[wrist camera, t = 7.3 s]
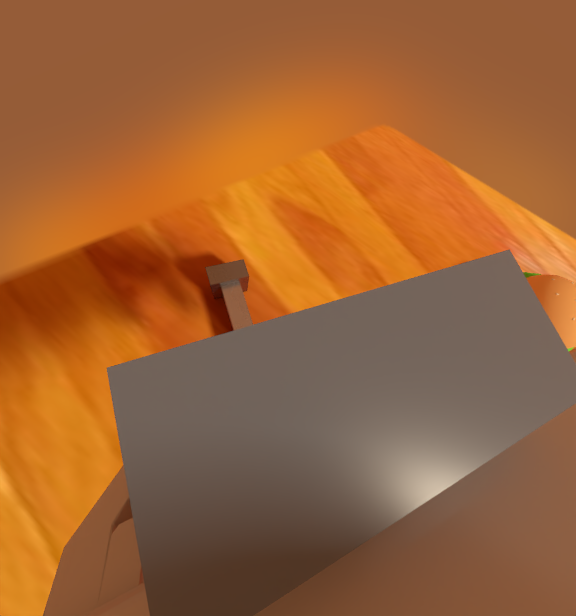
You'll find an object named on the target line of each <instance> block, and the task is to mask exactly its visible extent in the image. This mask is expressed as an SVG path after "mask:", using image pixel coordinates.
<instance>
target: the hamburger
mask: <svg viewBox="0 0 576 616" xmlns="http://www.w3.org/2000/svg"><path fill="white" fill-rule="evenodd" d="M523 274H524V276H525V277H526V279H527V281H528V282H529V284H530V286H531V288H532V289H533V291H534V293H535V294H536V296H537V298H538V300H539V301H540V303H541V305H542V306H543V308H544V310H545V312H546V313H547V315H548V317H549V318H550V320H551V322H552V324H553V325H554V327H555V329H556V330H557V332H558V334H559V336H560V337H561V339H562V341H563V343H564V344H565V346H566V348H567V349H568V351H570V350H571V349H573V348H574V347H576V283H575V282H572V281H570V280H568V279H565V278H563V277H560V276H556V275H542V274H534V273H527V272H524V273H523Z"/></svg>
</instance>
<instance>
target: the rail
mask: <svg viewBox="0 0 576 616" xmlns="http://www.w3.org/2000/svg"><path fill="white" fill-rule="evenodd" d="M205 268H206V271H207V275H208V278H209V282H210V286H211V289H212V292H213V296H214V299H216V298H220V297H223V299H224V303H225V306H226V309H227V313H228V316H229V320H230V323H231V326H232V330H233V331H234V330H237V329H241V328H244V327H248V326H251V325H253V323H252V320H251V317H250V314H249V311H248V307H247V304H246V301H245V298H244V295H243V292H244V291H247V288H248V280H249V275H248V272H247V269H246V265H245V262H244V259H243V260H238V261H233V262H229V263H224V264H219V265H214V266H210V267H205Z"/></svg>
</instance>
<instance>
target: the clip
mask: <svg viewBox="0 0 576 616" xmlns="http://www.w3.org/2000/svg"><path fill="white" fill-rule="evenodd" d="M107 372H108V378H109V384H110V390H111V395H112V401H113V407H114V413H115V418H116V424H117V430H118V436H119V441H120V447H121V453H122V458H123V464H124V470H125V476H126V481H127V487H128V493H129V499H130V504H131V510H132V516H133V522H134V527H135V533H136V539H137V545H138V550H139V556H140V562H141V567H142V573H143V579H144V585H145V590H146V596H147V602H148V608H149V613H150V616H254V615H255V614H257V613H259V612H260V611H262V610H263V609H265V608H266V607H268V606H269V605H271V604H272V603H274V602H275V601H277V600H278V599H280V598H281V597H283V596H284V595H286V594H287V593H289V592H290V591H292V590H293V589H295V588H296V587H298V586H300V585H301V584H303V583H304V582H306V581H307V580H309V579H310V578H312V577H313V576H315V575H316V574H318V573H319V572H321V571H322V570H324V569H325V568H327V567H328V566H330V565H331V564H333V563H334V562H336V561H337V560H339V559H340V558H342V557H344V556H345V555H347V554H348V553H350V552H351V551H353V550H354V549H356V548H357V547H359V546H360V545H362V544H363V543H365V542H366V541H368V540H369V539H371V538H372V537H374V536H375V535H377V534H378V533H380V532H381V531H383V530H384V529H386V528H388V527H389V526H391V525H392V524H394V523H395V522H397V521H398V520H400V519H401V518H403V517H404V516H406V515H407V514H409V513H410V512H412V511H413V510H415V509H416V508H418V507H419V506H421V505H422V504H424V503H425V502H427V501H428V500H430V499H432V498H433V497H435V496H436V495H438V494H439V493H441V492H442V491H444V490H445V489H447V488H448V487H450V486H451V485H453V484H454V483H456V482H457V481H459V480H460V479H462V478H463V477H465V476H466V475H468V474H469V473H471V472H473V471H474V470H476V469H477V468H479V467H480V466H482V465H483V464H485V463H486V462H488V461H489V460H491V459H492V458H494V457H495V456H497V455H498V454H500V453H501V452H503V451H504V450H506V449H507V448H509V447H510V446H512V445H513V444H515V443H517V442H518V441H520V440H521V439H523V438H524V437H526V436H527V435H529V434H530V433H532V432H533V431H535V430H536V429H538V428H539V427H541V426H542V425H544V424H545V423H547V422H548V421H550V420H551V419H553V418H554V417H556V416H557V415H559V414H561V413H562V412H564V411H565V410H567V409H568V408H570V407H571V406H573V405H574V404H576V363H575V361H574V360H573V358H572V356H571V355H570V353H569V351H568V349H567V348H566V346H565V344H564V343H563V341H562V339H561V337H560V336H559V334H558V332H557V330H556V329H555V327H554V325H553V324H552V322H551V320H550V318H549V317H548V315H547V313H546V312H545V310H544V308H543V306H542V305H541V303H540V301H539V300H538V298H537V296H536V294H535V293H534V291H533V289H532V288H531V286H530V284H529V282H528V281H527V279H526V277H525V276H524V274H523V272H522V270H521V269H520V267H519V265H518V264H517V262H516V260H515V258H514V257H513V255H512V253H511V251H510V250H506V251H503V252H500V253H496V254H493V255H489V256H486V257H483V258H479V259H476V260H472V261H469V262H466V263H462V264H459V265H455V266H452V267H449V268H445V269H442V270H438V271H435V272H432V273H428V274H425V275H421V276H418V277H415V278H411V279H408V280H404V281H401V282H397V283H394V284H391V285H387V286H384V287H380V288H377V289H374V290H370V291H367V292H363V293H360V294H357V295H353V296H350V297H346V298H343V299H340V300H336V301H333V302H329V303H326V304H323V305H319V306H316V307H312V308H309V309H306V310H302V311H299V312H295V313H292V314H289V315H285V316H282V317H278V318H275V319H271V320H268V321H265V322H261V323H258V324H254V325H251V326H248V327H244V328H241V329H237V330H234V331H231V332H227V333H224V334H220V335H217V336H214V337H210V338H207V339H203V340H200V341H197V342H193V343H190V344H186V345H183V346H180V347H176V348H173V349H169V350H166V351H163V352H159V353H156V354H152V355H149V356H145V357H142V358H139V359H135V360H132V361H128V362H125V363H122V364H118V365H115V366H111V367H108V368H107Z"/></svg>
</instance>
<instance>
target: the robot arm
mask: <svg viewBox="0 0 576 616" xmlns="http://www.w3.org/2000/svg"><path fill="white" fill-rule="evenodd" d="M569 353H570V355H571V356H572V358H573V360H574V361H575V363H576V348H575V349H573V350H571V351H569ZM43 616H150V613H149V608H148V602H147V596H146V590H145V585H144V579H143V573H142V567H141V562H140V556H139V550H138V545H137V539H136V533H135V527H134V522H133V516H132V510H131V504H130V499H129V493H128V487H127V481H126V476H125V470H124V465H123V467H122V468H121V469H120V471H119V472H118V473H117V475H116V476H115V478H114V479H113V480H112V482H111V483H110V485H109V486H108V487H107V489H106V490H105V492H104V493H103V494H102V496H101V497H100V498H99V500H98V501H97V503H96V504H95V505H94V507H93V508H92V510H91V511H90V512H89V514H88V515H87V517H86V518H85V519H84V521H83V522H82V523H81V525H80V526H79V528H78V529H77V530H76V532H75V533H74V535H73V536H72V537H71V539H70V540H69V542H68V543H67V544H66V546H65V547H64V550H63V553H62V556H61V559H60V563H59V566H58V569H57V572H56V575H55V579H54V582H53V585H52V588H51V591H50V595H49V598H48V601H47V604H46V607H45V611H44V614H43ZM254 616H576V404H574V405H573V406H571V407H570V408H568V409H567V410H565V411H564V412H562V413H561V414H559V415H557V416H556V417H554V418H553V419H551V420H550V421H548V422H547V423H545V424H544V425H542V426H541V427H539V428H538V429H536V430H535V431H533V432H532V433H530V434H529V435H527V436H526V437H524V438H523V439H521V440H520V441H518V442H517V443H515V444H513V445H512V446H510V447H509V448H507V449H506V450H504V451H503V452H501V453H500V454H498V455H497V456H495V457H494V458H492V459H491V460H489V461H488V462H486V463H485V464H483V465H482V466H480V467H479V468H477V469H476V470H474V471H473V472H471V473H469V474H468V475H466V476H465V477H463V478H462V479H460V480H459V481H457V482H456V483H454V484H453V485H451V486H450V487H448V488H447V489H445V490H444V491H442V492H441V493H439V494H438V495H436V496H435V497H433V498H432V499H430V500H428V501H427V502H425V503H424V504H422V505H421V506H419V507H418V508H416V509H415V510H413V511H412V512H410V513H409V514H407V515H406V516H404V517H403V518H401V519H400V520H398V521H397V522H395V523H394V524H392V525H391V526H389V527H388V528H386V529H384V530H383V531H381V532H380V533H378V534H377V535H375V536H374V537H372V538H371V539H369V540H368V541H366V542H365V543H363V544H362V545H360V546H359V547H357V548H356V549H354V550H353V551H351V552H350V553H348V554H347V555H345V556H344V557H342V558H340V559H339V560H337V561H336V562H334V563H333V564H331V565H330V566H328V567H327V568H325V569H324V570H322V571H321V572H319V573H318V574H316V575H315V576H313V577H312V578H310V579H309V580H307V581H306V582H304V583H303V584H301V585H300V586H298V587H296V588H295V589H293V590H292V591H290V592H289V593H287V594H286V595H284V596H283V597H281V598H280V599H278V600H277V601H275V602H274V603H272V604H271V605H269V606H268V607H266V608H265V609H263V610H262V611H260V612H259V613H257V614H255V615H254Z"/></svg>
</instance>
